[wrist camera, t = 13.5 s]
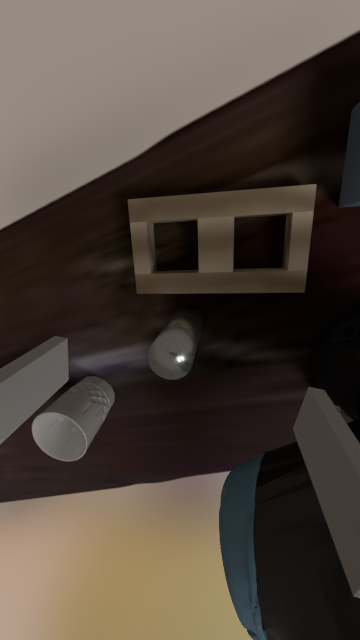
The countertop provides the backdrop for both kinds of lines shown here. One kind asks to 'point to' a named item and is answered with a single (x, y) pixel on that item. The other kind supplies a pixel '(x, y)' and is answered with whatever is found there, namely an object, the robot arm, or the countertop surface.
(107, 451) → the countertop surface
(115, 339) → the countertop surface
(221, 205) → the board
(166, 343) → the peg
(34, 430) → the white cup
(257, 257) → the countertop surface
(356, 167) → the slate blue cube
